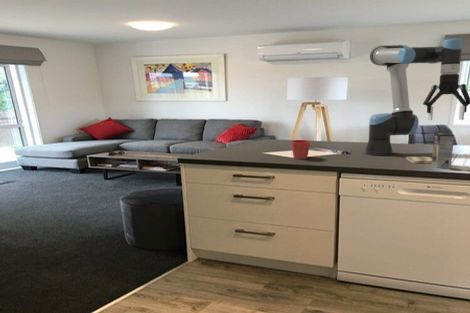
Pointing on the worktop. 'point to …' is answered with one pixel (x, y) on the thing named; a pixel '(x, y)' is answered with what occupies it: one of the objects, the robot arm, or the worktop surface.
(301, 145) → the flower pot
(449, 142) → the coffee box
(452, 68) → the robot arm
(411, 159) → the beige square napkin
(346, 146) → the worktop surface
